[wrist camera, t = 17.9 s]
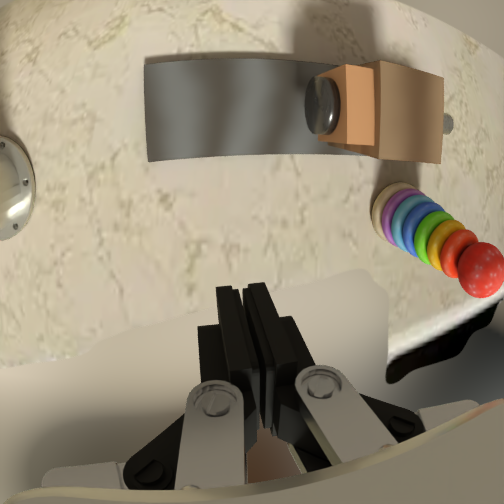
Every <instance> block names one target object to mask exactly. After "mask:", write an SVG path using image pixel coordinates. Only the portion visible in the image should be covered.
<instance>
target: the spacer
mask: <svg viewBox="0 0 504 504" xmlns="http://www.w3.org/2000/svg"><path fill="white" fill-rule="evenodd" d="M317 76H320V77H329V78H332V79H333V80H334V81H335V82H336V84H337V86H338V89H339V93H340V100H341V110H340V117H339V121H338V125H337V127H336V129H335V130H334V132H333V133H332V134H330V135H318V141H324V142H334V143H344V144H358V145H372V146H374V142H375V101H374V72H373V69H371V68H366V67H360V66H354V65H348V64H345V65H342V66H339V67H337V68H334V69H332V70H329V71H327V72H325V73H322V74H320V75H317Z"/></svg>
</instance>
